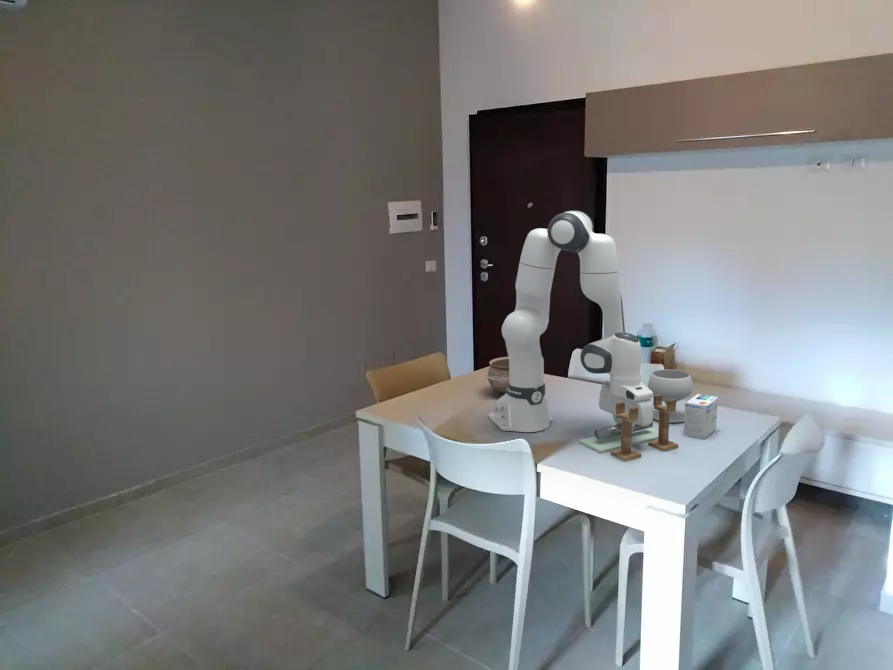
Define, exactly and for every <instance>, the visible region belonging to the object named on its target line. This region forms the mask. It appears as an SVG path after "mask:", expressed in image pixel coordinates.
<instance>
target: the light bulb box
mask: <svg viewBox="0 0 893 670" xmlns="http://www.w3.org/2000/svg"><path fill="white" fill-rule="evenodd" d="M718 398H719V397H718V396H713V395H706V394H701V393H696V394H695V395H694V396H692V397H691V398H690V399H689V400H687V401H685V402H684V414H685V420H684V422H683V423H684V425H683V426H684V427H683V436H686V437H690V438H691V437H692V438H696V439H700V440H701V439H702V440H706V439H707V438H708V436H710V435H711V434H712V433H713V432H715V431H716V430H717V416H718V401H719V400H718Z"/></svg>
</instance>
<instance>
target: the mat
mask: <svg viewBox="0 0 893 670" xmlns="http://www.w3.org/2000/svg"><path fill="white" fill-rule="evenodd" d="M658 432H659V429H658V428H657V429H656V428H654V427H653V426H652V427H651V428H647V429H643V430H638V431H634V432H633V433H632V435H631V447H632V446H636V445H641V444H644V443H645V444H646V443H648V442H650V441H654V440H658ZM578 443H579V444H580V445H583V446H585V447H587V448H589V449H591V450H593V451H595V452H597V453H599V454H604V453H607V452H611V451H613V450H617V449H621V435H617V436H612V437H608V438H604V439H599V440H598V439H596V437H595V436H591V437H587V438H582V439H579V440H578Z"/></svg>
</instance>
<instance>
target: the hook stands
mask: <svg viewBox="0 0 893 670" xmlns="http://www.w3.org/2000/svg"><path fill="white" fill-rule="evenodd" d="M652 399H653V400H652V401H653V402H652V404H653V410H654V409H655V411H659V421H658V430H659V432H658V440H654V441H649V442H647V446H649V447H651V448H653V449H656V450H658V451H660V452H663V453H664V452H667V451H672V450H675V449H679V443H676V442H673V441H671V440H669V437H670V435H669V433H670V423H669V414H672V413H675V411H677V402H676V399H670V400H667V406H666V405H665V404H663V401H662V395H661V394H657V395H653V398H652ZM616 417H618V418H620V420H621V449H617V450H613V451H610V455H611V456H613V457H615V458H617V459H619V460H620V461H621V460H622V461H623V462H627V461H632V460H635V459H636V460H637V459H640V458H642V453H640V452H638V451H636V450H634V449H632V446H631V435H632V422H636V421H637V418H638V407H633V408H629V414H627V413H625V402H619V403H616Z"/></svg>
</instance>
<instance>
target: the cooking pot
mask: <svg viewBox="0 0 893 670" xmlns="http://www.w3.org/2000/svg"><path fill="white" fill-rule="evenodd" d="M488 364H489V367H488V371H487V377H486V380H487V381H488V383H489V385H490V386H491V387H492V388H493V389H494V390H496V391H498V392H500V393H502V394H503V395H505V394H506V391H507V387H508V386H506V385H508V384H506V383H509V358H508V356H504V357H503V356H502V357H496V358H493V359H491V360H490V361H489V362H488Z"/></svg>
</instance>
